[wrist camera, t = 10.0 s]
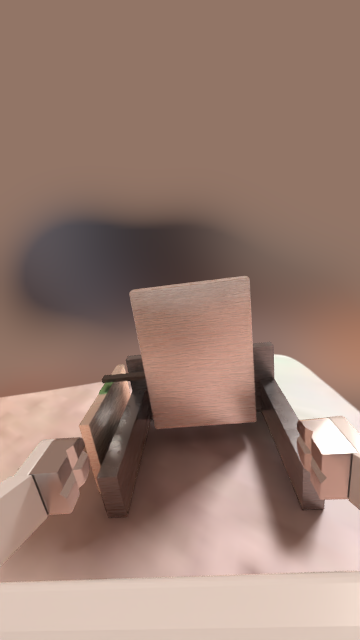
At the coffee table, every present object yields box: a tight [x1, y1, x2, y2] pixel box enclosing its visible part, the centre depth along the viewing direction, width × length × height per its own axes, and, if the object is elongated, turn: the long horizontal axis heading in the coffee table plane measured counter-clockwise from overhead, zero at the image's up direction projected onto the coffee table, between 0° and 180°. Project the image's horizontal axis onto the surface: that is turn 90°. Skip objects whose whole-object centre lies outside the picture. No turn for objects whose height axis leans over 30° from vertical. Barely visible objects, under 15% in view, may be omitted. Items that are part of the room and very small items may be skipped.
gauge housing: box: [79, 342, 325, 517], centre depth 23 cm, size 18×12×8 cm
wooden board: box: [102, 276, 256, 429], centre depth 23 cm, size 14×2×14 cm, turn 88°
